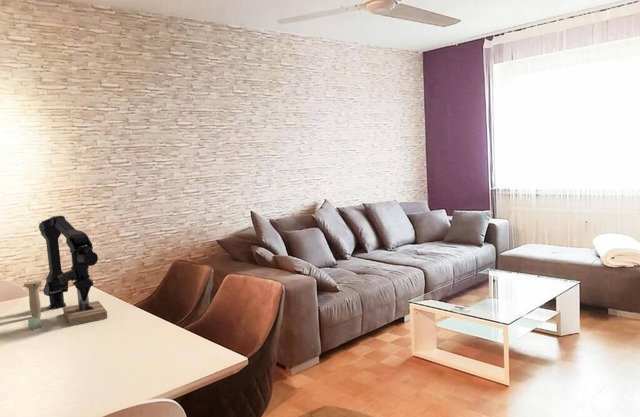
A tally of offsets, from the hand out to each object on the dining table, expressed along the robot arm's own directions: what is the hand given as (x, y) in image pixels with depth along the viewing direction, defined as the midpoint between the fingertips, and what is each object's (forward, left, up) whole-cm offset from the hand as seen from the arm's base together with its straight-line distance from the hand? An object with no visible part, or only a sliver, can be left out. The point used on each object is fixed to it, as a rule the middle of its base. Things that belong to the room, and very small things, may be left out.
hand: (83, 299), depth 203 cm
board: (0, 0, -7) cm, 7 cm away
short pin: (+3, -18, -7) cm, 20 cm away
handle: (-14, -17, -7) cm, 23 cm away
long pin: (0, 0, -4) cm, 4 cm away
